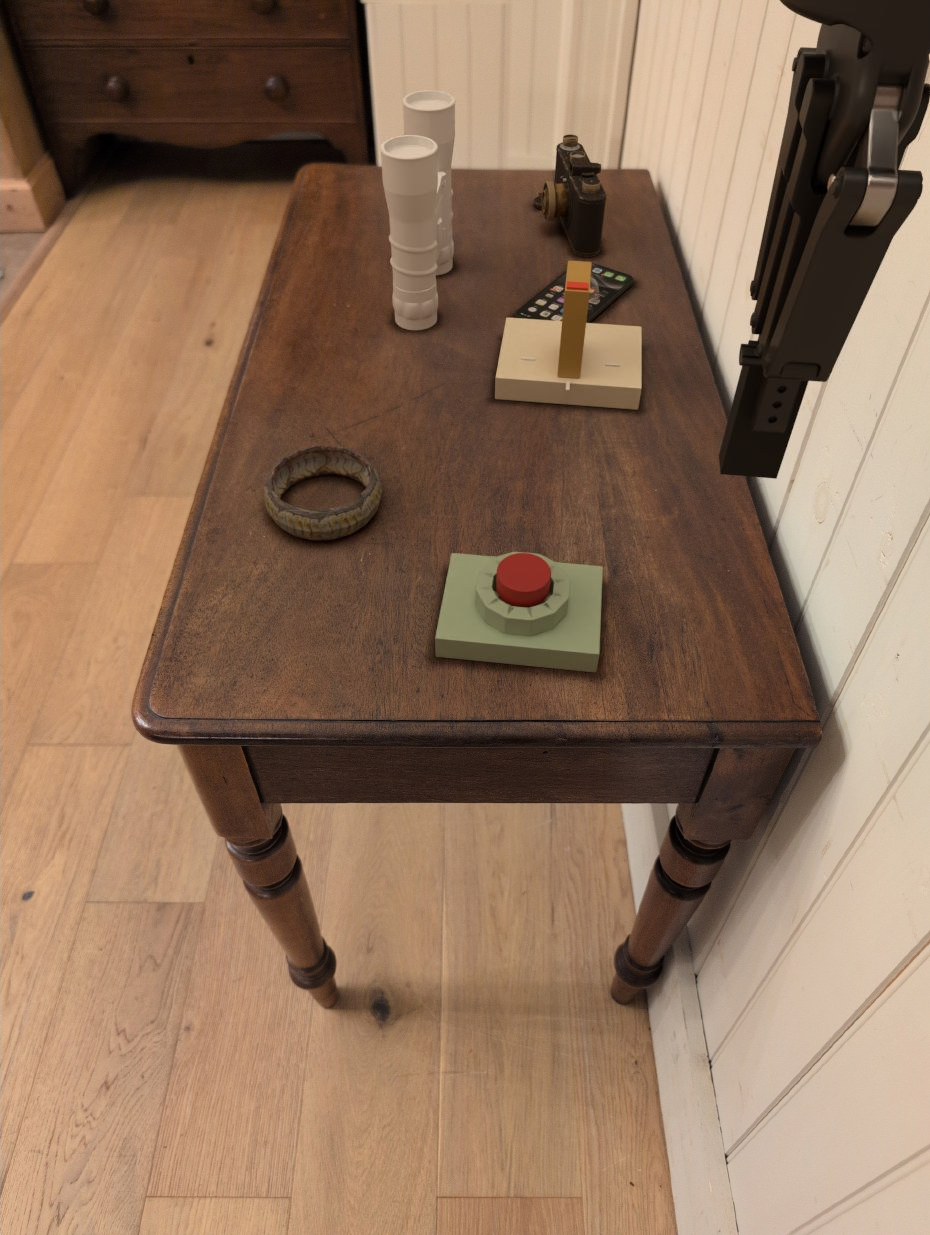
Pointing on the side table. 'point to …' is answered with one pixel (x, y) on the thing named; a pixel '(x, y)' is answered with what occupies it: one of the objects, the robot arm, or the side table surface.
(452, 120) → the binoculars
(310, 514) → the decorative ring
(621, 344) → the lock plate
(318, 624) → the side table surface
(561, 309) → the smartphone
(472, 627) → the box
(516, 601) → the button
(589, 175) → the camera
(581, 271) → the lock knob
